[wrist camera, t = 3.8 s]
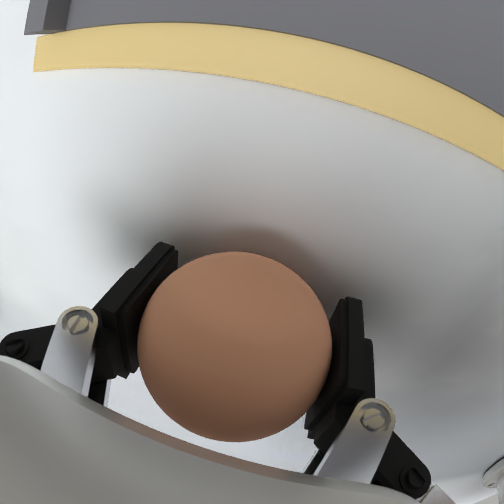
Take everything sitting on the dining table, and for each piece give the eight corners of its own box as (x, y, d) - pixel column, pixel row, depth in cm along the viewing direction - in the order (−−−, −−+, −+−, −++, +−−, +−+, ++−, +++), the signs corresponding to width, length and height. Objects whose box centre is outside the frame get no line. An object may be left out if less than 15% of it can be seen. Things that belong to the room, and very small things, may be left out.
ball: (358, 247, 10) (369, 402, 5) (306, 359, 13) (284, 484, 8) (188, 200, 11) (79, 308, 6) (179, 321, 14) (117, 428, 9)
